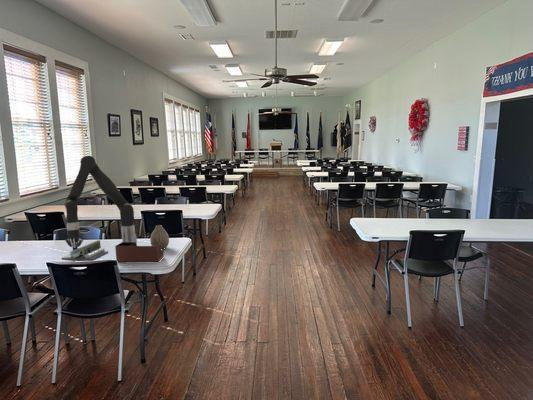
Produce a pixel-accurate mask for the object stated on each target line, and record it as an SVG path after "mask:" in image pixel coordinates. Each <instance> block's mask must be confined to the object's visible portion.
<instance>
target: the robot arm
mask: <svg viewBox="0 0 533 400" xmlns="http://www.w3.org/2000/svg"><path fill="white" fill-rule="evenodd" d="M89 176H91V177H92V179H93V180H94V181H95V183H96V184H97V186H98V187H99V189H100V190H101V191H102V192H103V193H104V195H106V196H107V197H108V199H110V200H111V201H112V202H113V203H114V204H115V206H116V207H117V209H118V210H119V214H120V215H119V216H120V230H121V231H120V232H121V242H136V246H138V239H137V234H136V229H135V211H134V208H133V205H132V204H131V203H129V202H128V200H126V198H125V197H124V196H123V194H122V193H121V192H120V190H119V189H118V186H116V184H115V183H114V182H113V181H112V180H111V178H110V177H109V176H108V175H107V174H105V172H103V171H102V170H101V168H100V167H99V165H98V164H97V162H96V159H95V158H94V157H93V156H92V155H84V156H82V158H80V166H79V169H78V174H77V175H76V178H75V180H74V182H73V183H72V186H71V188H70V192H69V193H68V195H67V197H66V199H65V202H64V207H65V210H66V216H65V217H66V232H67V239H65V243H66V244H67V245H68V246H69V247H70V248H72V251H73V250H75V249H77V248H80V247H81V245H82V244H83V242H84V239H81V237H80V235H81V233H80V223H79V216H78V201H79V199H80V197H81V196H82V195H83V191H84V188H85V186H86V183H87V179H88V177H89Z"/></svg>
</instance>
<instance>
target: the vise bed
mask: <svg viewBox="0 0 533 400" xmlns="http://www.w3.org/2000/svg"><path fill="white" fill-rule="evenodd" d="M108 253H109V250H105V248H104V247H102V248H98V249H96V250H94V251H92V252H89V253H87V254H85V257H83V258H81V257H80V258H78V259H76V257H71V255H70V253H69V254H66V255H64V256H63V257H61V260H68V261H69V260H71V261H95V260H96V259H99V257H102V256H104V255H105V254H108Z"/></svg>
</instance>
